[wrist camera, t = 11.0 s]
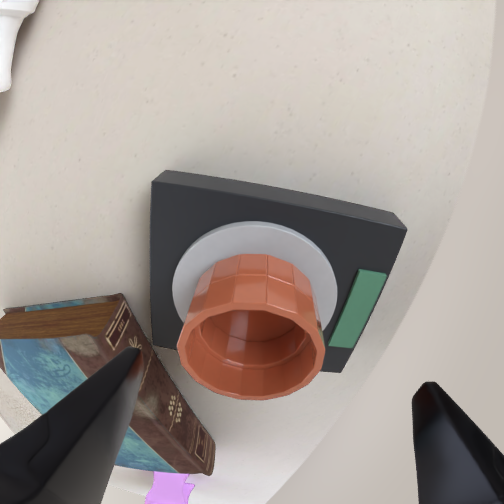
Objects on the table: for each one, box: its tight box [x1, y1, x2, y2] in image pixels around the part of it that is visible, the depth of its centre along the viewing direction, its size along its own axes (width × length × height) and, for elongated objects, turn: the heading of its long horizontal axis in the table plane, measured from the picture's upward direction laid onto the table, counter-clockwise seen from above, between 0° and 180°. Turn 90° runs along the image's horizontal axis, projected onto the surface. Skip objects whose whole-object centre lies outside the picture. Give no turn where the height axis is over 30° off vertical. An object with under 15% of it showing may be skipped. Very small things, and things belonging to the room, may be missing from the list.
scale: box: [150, 170, 407, 373], centre depth 19 cm, size 14×12×3 cm
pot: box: [177, 254, 325, 400], centre depth 16 cm, size 7×7×4 cm
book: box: [0, 293, 215, 476], centre depth 26 cm, size 23×18×5 cm
